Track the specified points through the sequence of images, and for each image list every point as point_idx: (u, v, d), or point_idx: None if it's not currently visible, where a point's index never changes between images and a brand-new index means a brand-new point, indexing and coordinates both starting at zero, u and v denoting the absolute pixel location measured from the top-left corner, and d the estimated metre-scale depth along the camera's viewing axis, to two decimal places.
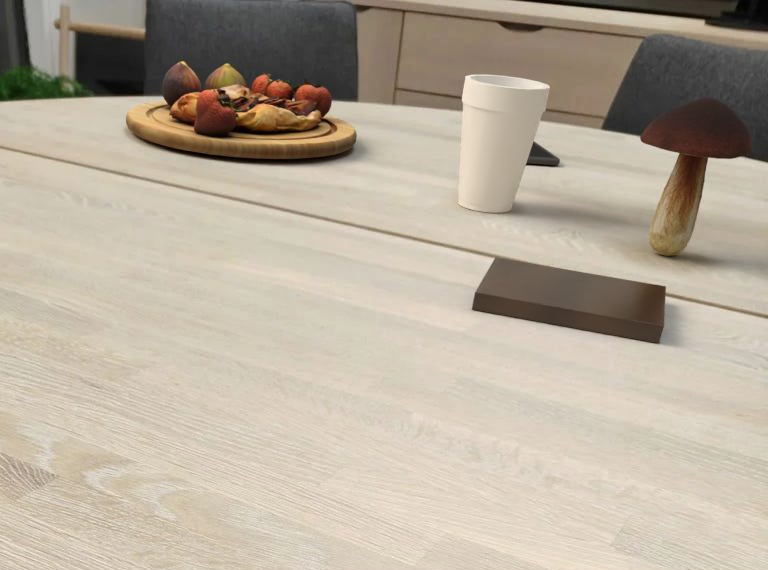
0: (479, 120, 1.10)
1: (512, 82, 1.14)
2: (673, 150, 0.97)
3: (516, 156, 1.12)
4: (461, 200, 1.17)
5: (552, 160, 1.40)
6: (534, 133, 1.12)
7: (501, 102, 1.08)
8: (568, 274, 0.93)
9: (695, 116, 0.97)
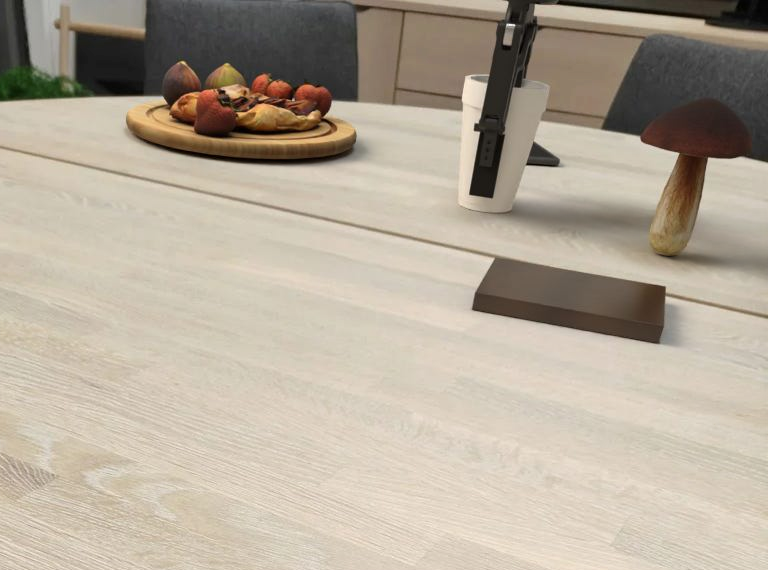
0: None
1: None
2: (673, 150, 0.97)
3: (516, 156, 1.12)
4: (461, 200, 1.17)
5: (552, 160, 1.40)
6: (534, 133, 1.12)
7: None
8: (568, 274, 0.93)
9: (695, 116, 0.97)
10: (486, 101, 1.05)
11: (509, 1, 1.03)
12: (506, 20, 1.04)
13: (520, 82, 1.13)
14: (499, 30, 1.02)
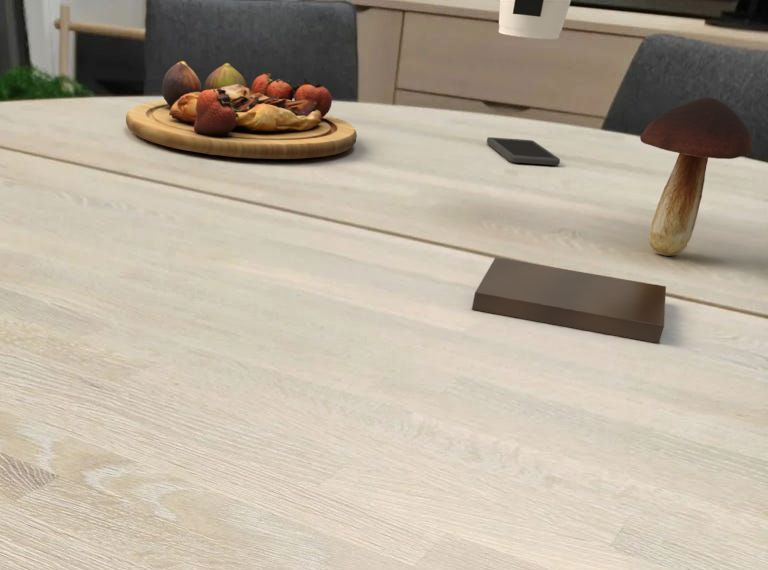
0: None
1: None
2: (673, 150, 0.97)
3: None
4: (502, 27, 1.03)
5: (552, 160, 1.40)
6: None
7: None
8: (568, 274, 0.93)
9: (695, 116, 0.97)
10: None
11: None
12: None
13: None
14: None
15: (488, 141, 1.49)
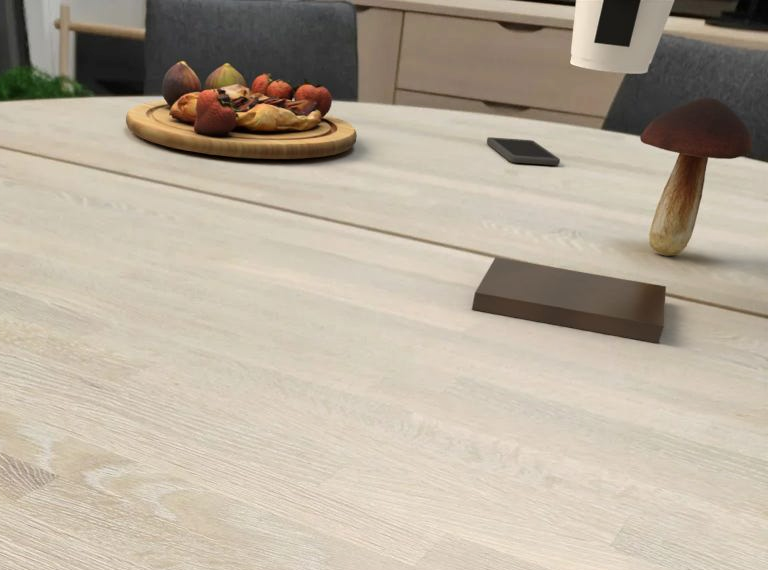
0: None
1: None
2: (673, 150, 0.97)
3: None
4: (577, 57, 0.81)
5: (552, 160, 1.40)
6: None
7: None
8: (568, 274, 0.93)
9: (695, 116, 0.97)
10: None
11: None
12: None
13: None
14: None
15: (488, 141, 1.49)
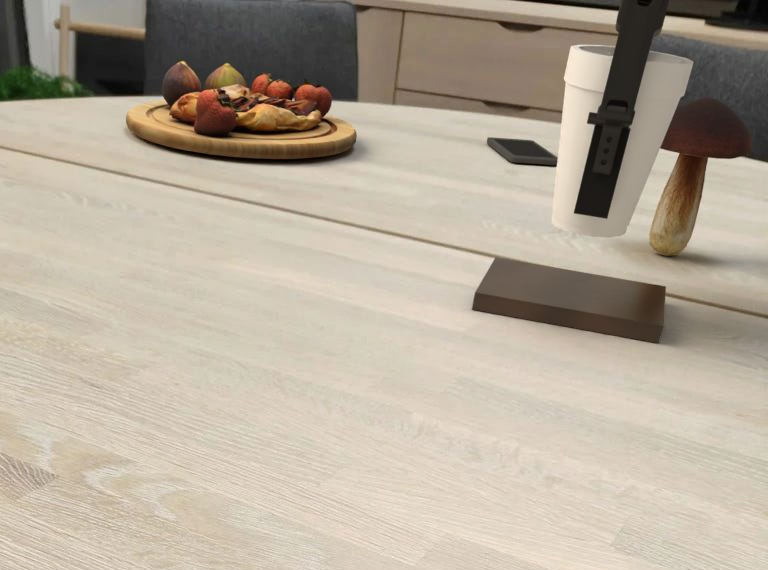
0: (592, 108, 0.78)
1: None
2: (673, 150, 0.97)
3: (641, 159, 0.79)
4: (558, 219, 0.85)
5: (552, 160, 1.40)
6: (667, 127, 0.79)
7: None
8: (568, 274, 0.93)
9: (695, 116, 0.97)
10: (611, 80, 0.73)
11: None
12: None
13: None
14: None
15: (488, 141, 1.49)
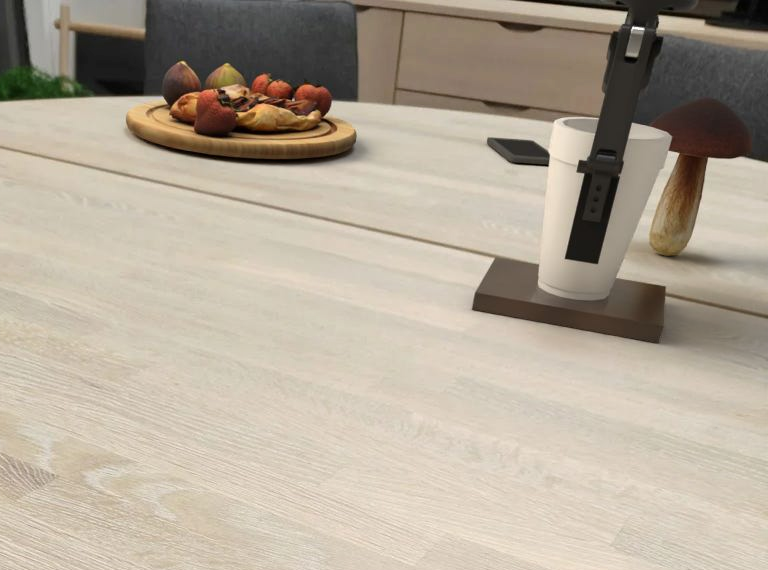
0: (575, 181, 0.81)
1: None
2: (673, 150, 0.97)
3: (623, 228, 0.83)
4: (543, 283, 0.88)
5: None
6: (647, 197, 0.83)
7: None
8: None
9: (695, 116, 0.97)
10: (600, 130, 0.74)
11: (631, 6, 0.73)
12: None
13: None
14: (622, 34, 0.72)
15: (488, 141, 1.49)
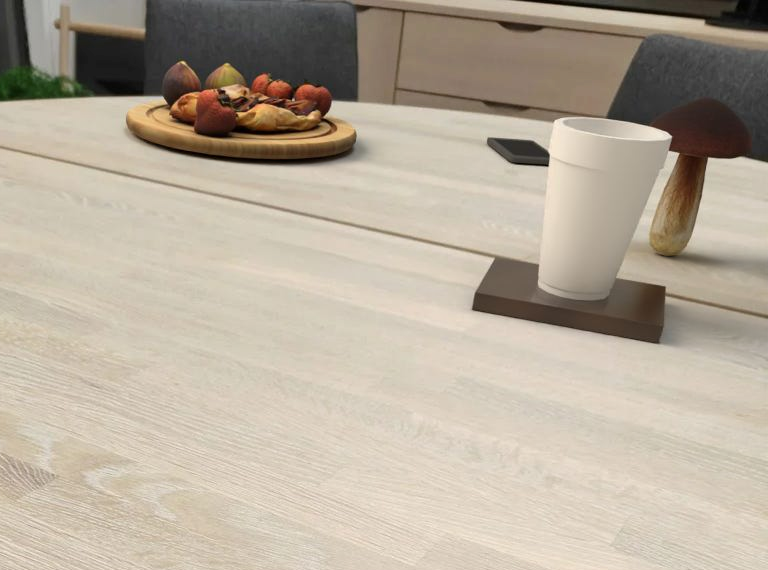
0: (575, 181, 0.81)
1: (615, 127, 0.85)
2: (673, 150, 0.97)
3: (623, 228, 0.83)
4: (543, 283, 0.88)
5: None
6: (647, 197, 0.83)
7: (608, 158, 0.78)
8: None
9: (695, 116, 0.97)
10: None
11: None
12: None
13: None
14: None
15: (488, 141, 1.49)
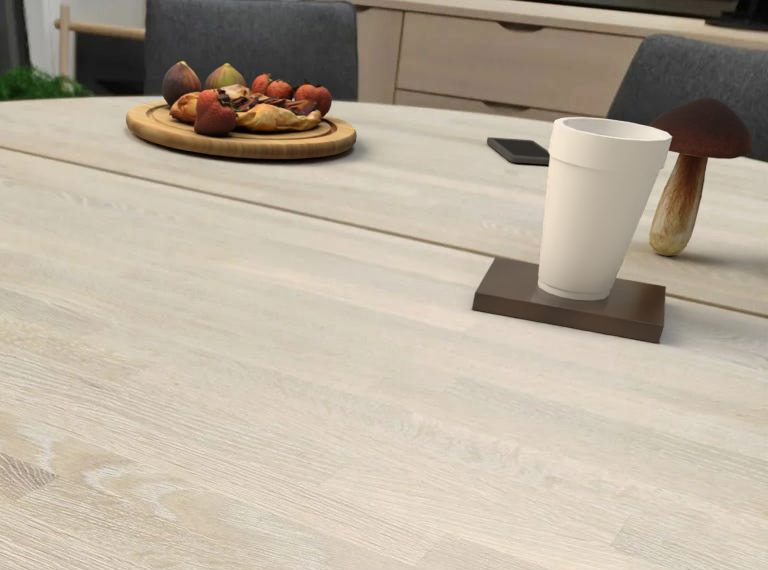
0: (575, 181, 0.81)
1: (615, 127, 0.85)
2: (673, 150, 0.97)
3: (623, 228, 0.83)
4: (543, 283, 0.88)
5: None
6: (647, 197, 0.83)
7: (608, 158, 0.78)
8: None
9: (695, 116, 0.97)
10: None
11: None
12: None
13: None
14: None
15: (488, 141, 1.49)
